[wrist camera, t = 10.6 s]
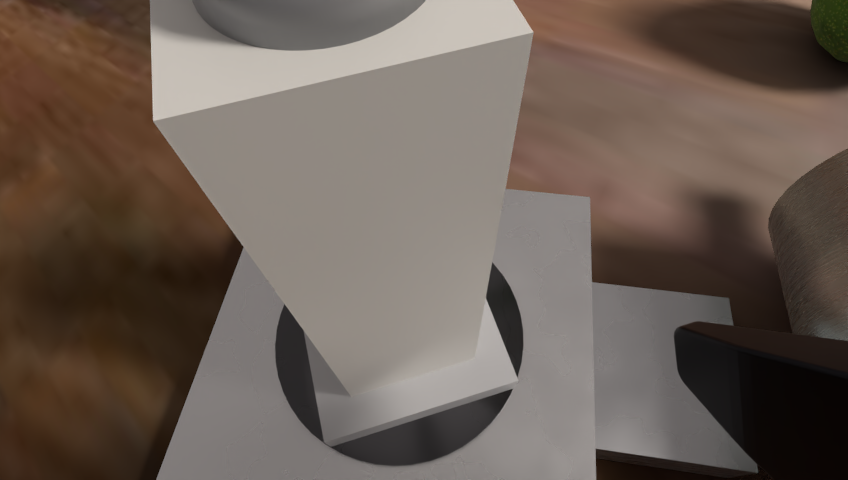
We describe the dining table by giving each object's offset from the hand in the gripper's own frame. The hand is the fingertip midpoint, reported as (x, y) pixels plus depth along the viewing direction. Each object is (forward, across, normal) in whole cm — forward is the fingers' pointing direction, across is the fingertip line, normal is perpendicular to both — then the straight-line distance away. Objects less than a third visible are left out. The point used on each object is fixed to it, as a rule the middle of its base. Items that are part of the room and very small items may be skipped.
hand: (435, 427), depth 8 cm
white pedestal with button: (+10, 0, +2) cm, 10 cm away
